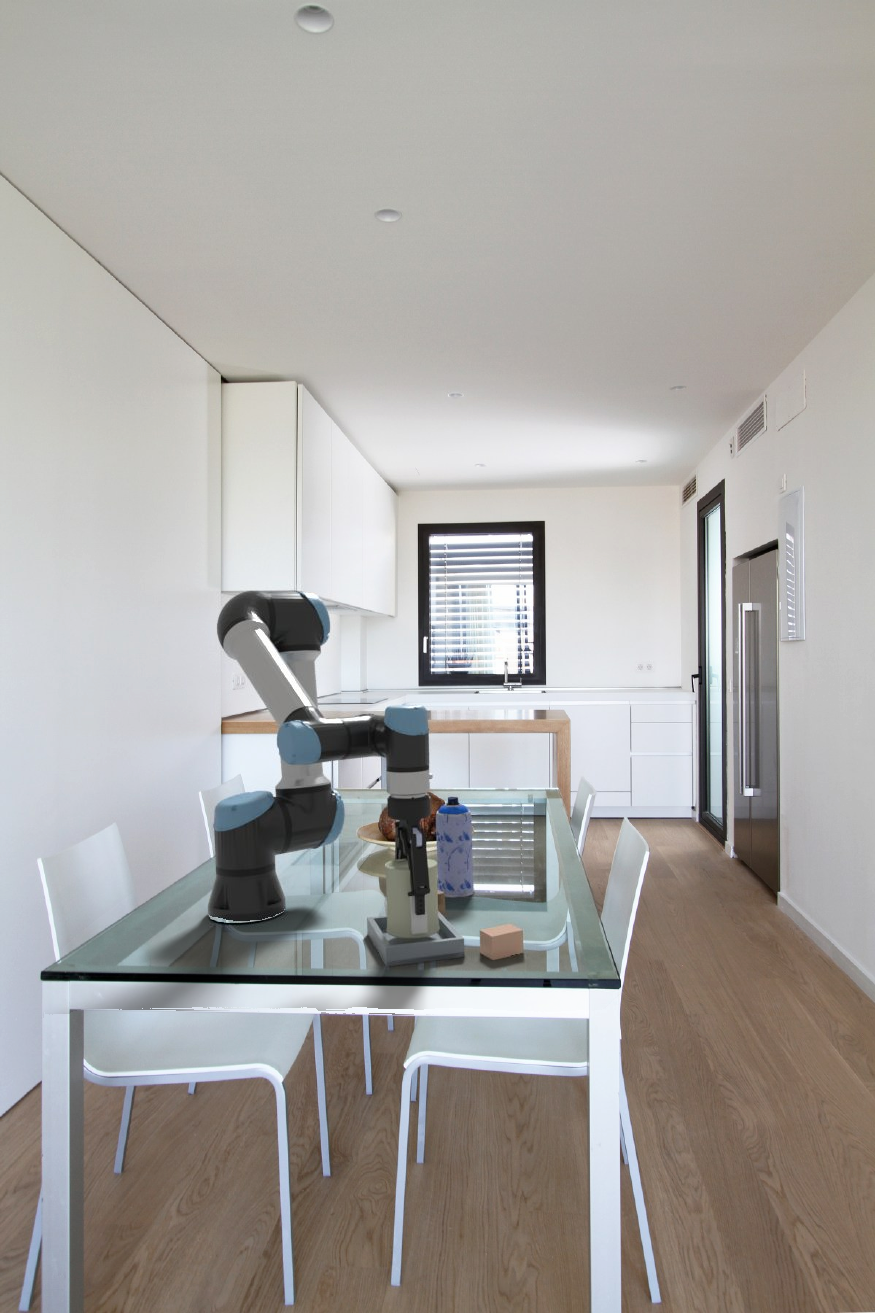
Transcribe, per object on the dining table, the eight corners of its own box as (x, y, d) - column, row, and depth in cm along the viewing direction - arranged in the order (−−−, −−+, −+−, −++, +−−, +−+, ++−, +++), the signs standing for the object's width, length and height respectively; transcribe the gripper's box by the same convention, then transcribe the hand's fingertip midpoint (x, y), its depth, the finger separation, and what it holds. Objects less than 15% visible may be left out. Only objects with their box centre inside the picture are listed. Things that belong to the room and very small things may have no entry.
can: (410, 918, 155) (408, 852, 155) (450, 927, 149) (448, 858, 149) (375, 932, 148) (373, 862, 148) (415, 942, 142) (413, 870, 142)
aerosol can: (481, 890, 182) (478, 795, 182) (461, 899, 175) (458, 801, 175) (450, 885, 186) (447, 793, 186) (430, 894, 180) (427, 799, 180)
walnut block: (422, 924, 160) (421, 897, 160) (409, 917, 164) (408, 891, 164) (445, 919, 163) (444, 893, 163) (432, 913, 167) (431, 887, 167)
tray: (464, 956, 142) (463, 938, 142) (386, 966, 138) (385, 948, 138) (437, 926, 158) (437, 909, 158) (367, 934, 155) (366, 917, 155)
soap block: (492, 961, 140) (492, 936, 140) (480, 954, 144) (479, 930, 143) (523, 954, 143) (522, 930, 143) (510, 947, 146) (509, 923, 146)
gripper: (446, 802, 139) (450, 941, 139) (415, 784, 160) (419, 905, 160) (401, 806, 137) (405, 947, 137) (375, 787, 158) (379, 909, 158)
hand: (412, 924), depth 149 cm, fingers closed on can, 9 cm apart
